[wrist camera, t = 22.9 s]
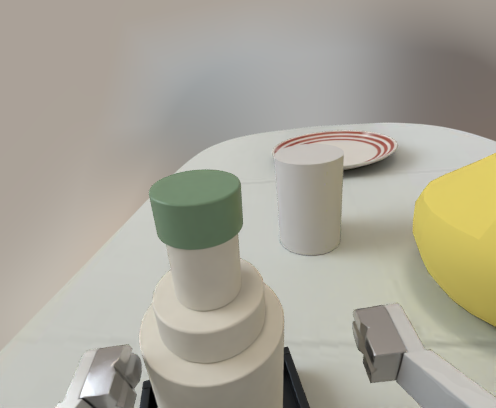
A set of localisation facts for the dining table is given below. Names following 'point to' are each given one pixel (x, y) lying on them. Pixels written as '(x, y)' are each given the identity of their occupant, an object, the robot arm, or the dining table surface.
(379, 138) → the dinner plate
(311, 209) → the white cylinder
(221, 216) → the bottle
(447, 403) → the robot arm
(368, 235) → the dining table surface
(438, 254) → the vase
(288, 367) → the black square tray
